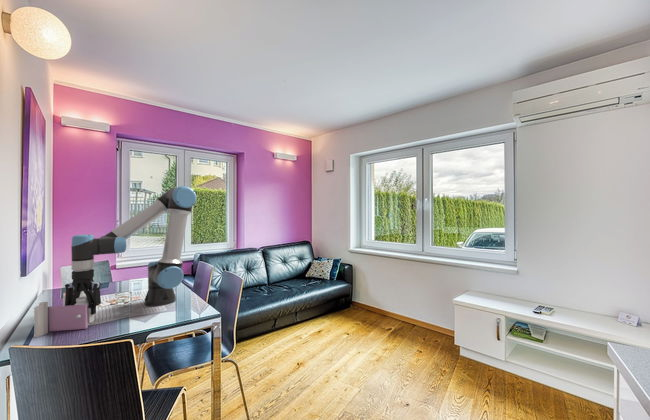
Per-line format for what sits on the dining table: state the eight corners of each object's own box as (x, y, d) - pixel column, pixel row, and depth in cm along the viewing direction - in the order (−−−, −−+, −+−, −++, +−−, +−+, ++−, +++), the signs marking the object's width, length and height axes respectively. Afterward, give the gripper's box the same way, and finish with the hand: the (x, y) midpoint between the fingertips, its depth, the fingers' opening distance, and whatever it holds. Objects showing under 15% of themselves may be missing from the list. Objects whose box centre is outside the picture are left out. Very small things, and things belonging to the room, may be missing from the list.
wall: (87, 315, 139) (87, 288, 139) (38, 337, 114) (38, 304, 114) (84, 315, 139) (84, 288, 139) (33, 337, 114) (33, 304, 114)
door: (83, 330, 120) (83, 306, 120) (42, 333, 117) (42, 308, 117) (87, 327, 123) (87, 304, 123) (48, 330, 120) (48, 306, 120)
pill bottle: (72, 323, 124) (72, 298, 125) (90, 318, 129) (90, 294, 129) (75, 326, 120) (75, 300, 121) (93, 322, 125) (93, 297, 125)
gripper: (111, 267, 129) (111, 318, 129) (67, 268, 128) (68, 319, 128) (98, 270, 122) (99, 324, 121) (52, 271, 121) (52, 326, 121)
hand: (83, 321), depth 125 cm, fingers closed on pill bottle, 6 cm apart
